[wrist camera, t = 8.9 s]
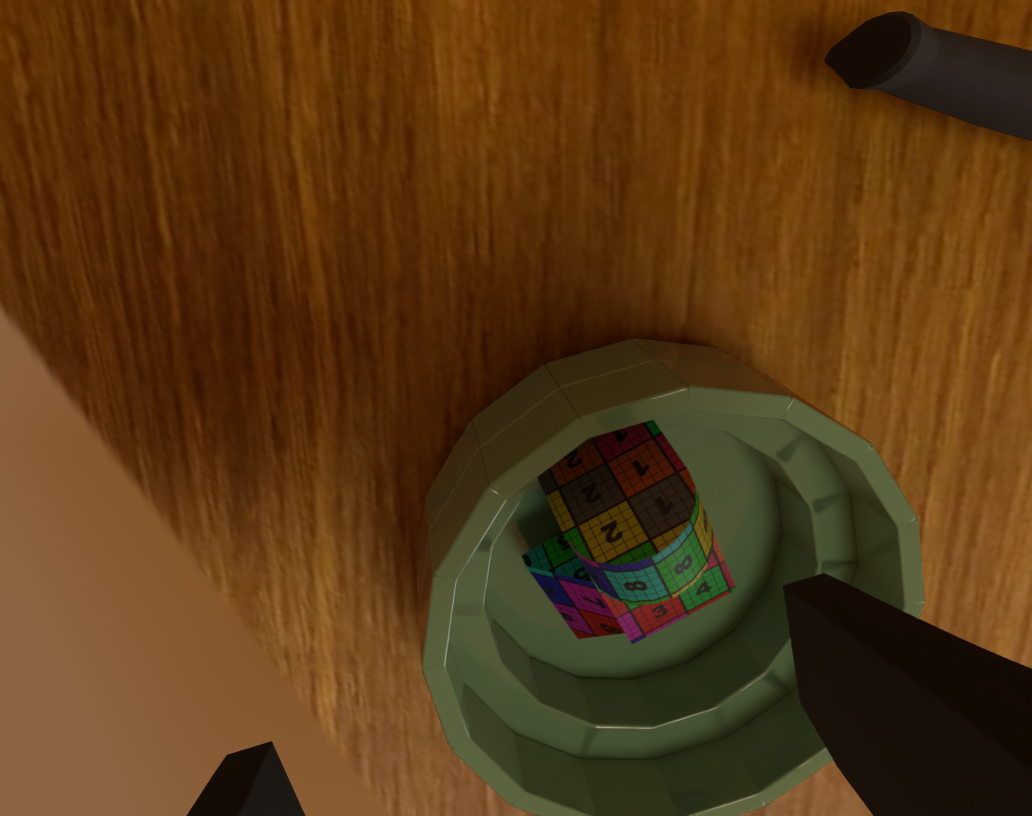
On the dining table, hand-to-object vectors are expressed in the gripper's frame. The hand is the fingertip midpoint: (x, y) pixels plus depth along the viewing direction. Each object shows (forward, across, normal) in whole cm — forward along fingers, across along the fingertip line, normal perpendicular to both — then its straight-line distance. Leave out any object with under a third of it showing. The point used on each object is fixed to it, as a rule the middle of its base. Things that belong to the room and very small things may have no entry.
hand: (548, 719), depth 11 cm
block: (+8, -2, +2) cm, 9 cm away
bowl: (+10, -3, +4) cm, 11 cm away
